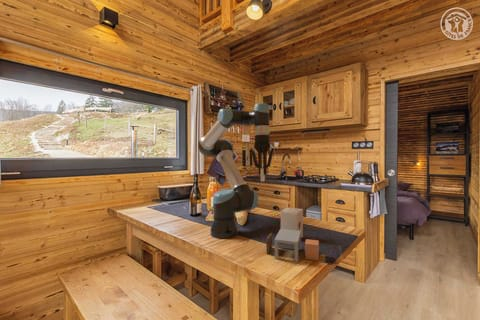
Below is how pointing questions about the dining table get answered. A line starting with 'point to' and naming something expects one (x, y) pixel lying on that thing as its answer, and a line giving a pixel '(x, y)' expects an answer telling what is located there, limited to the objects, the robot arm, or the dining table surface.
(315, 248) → the block
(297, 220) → the supplement box
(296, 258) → the tunnel
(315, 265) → the dining table surface
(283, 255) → the sled
